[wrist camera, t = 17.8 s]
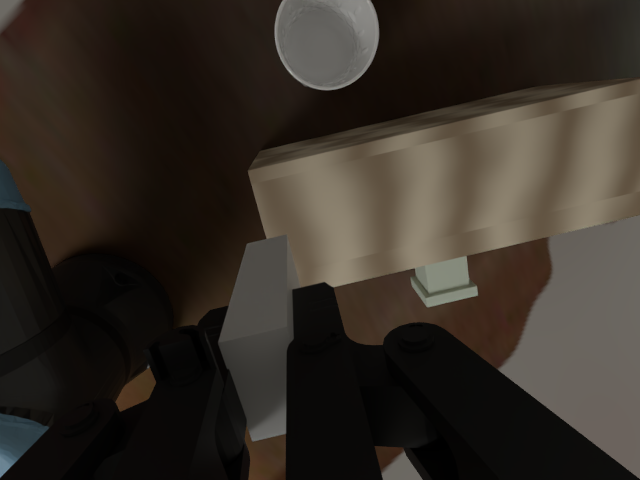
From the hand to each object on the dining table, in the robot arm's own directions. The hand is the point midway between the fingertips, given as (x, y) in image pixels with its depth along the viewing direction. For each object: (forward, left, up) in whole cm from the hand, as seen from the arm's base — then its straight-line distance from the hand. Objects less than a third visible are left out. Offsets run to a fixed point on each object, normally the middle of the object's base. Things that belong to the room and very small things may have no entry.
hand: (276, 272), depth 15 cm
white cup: (+6, +10, -30) cm, 32 cm away
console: (+13, -3, -29) cm, 32 cm away
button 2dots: (+13, -11, -25) cm, 30 cm away
